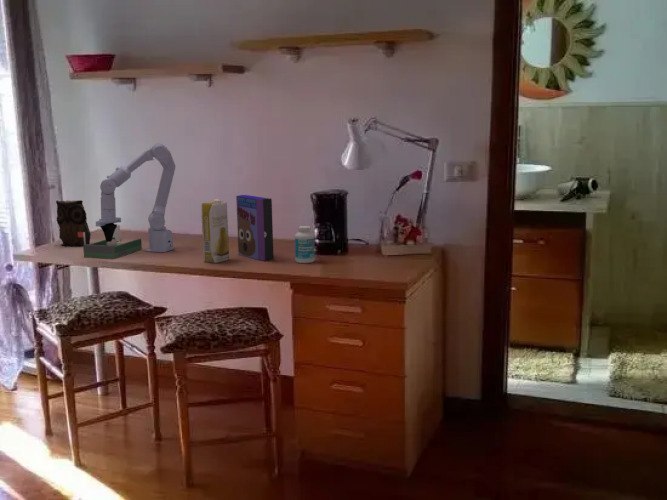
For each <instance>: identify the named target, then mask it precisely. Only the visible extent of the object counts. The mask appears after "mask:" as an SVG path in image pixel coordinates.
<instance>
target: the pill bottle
mask: <svg viewBox="0 0 667 500" xmlns="http://www.w3.org/2000/svg"><path fill="white" fill-rule="evenodd" d="M311 230H312V228H311V226H309V225H300V226H298V232H296V233H295V235H294V257H295V258H294V261H295V262H296V263H299V264H309V263H310V264H311V263H314V262H315V258H316V255H315V251H316V250H315V234H314V233H313V232H312V231H311Z"/></svg>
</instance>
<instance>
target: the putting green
mask: <svg viewBox="0 0 667 500" xmlns="http://www.w3.org/2000/svg"><path fill="white" fill-rule="evenodd" d="M78 237H84V245H83V246H82V247H83V257H84V258H91V259H92V258H93V259H94V258H95V259H96V258H97V259H109V258H111V259H110V260H114V258H115V259H118V258H121V257H123V255H124V256H126V255H129V254H132V253H135V252H139V251H142V250H143V247H142V246H143V243H142V238H137V239H133V240H131V241H127V242H124V243H117V246H107V242H106V239H102V240H99V241H95V242H92V243H90V244H89V245H87V244H86V241H85V232H78ZM112 239H114V240H115V237H113V238H112ZM120 256H121V257H120ZM117 257H118V258H117Z"/></svg>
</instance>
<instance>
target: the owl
mask: <svg viewBox="0 0 667 500" xmlns="http://www.w3.org/2000/svg"><path fill="white" fill-rule="evenodd" d="M55 204H56V215H57V216H56V222H57V224H58V227H59V229H58V232H59V239H60V240H61V242H62V244H61V246H62V247H72V248H73V247H76V248H78V247H80V248H81V247H83V245H84V237H78V232H85V241H86V244H87V245H89V244H91V236H92V235H91V231H90V228H89V225H88V221H87V219H88V218H87V212H86V210H85V207H84V205H83V200H82V199H81V200H56V201H55Z"/></svg>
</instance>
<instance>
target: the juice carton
mask: <svg viewBox="0 0 667 500" xmlns="http://www.w3.org/2000/svg"><path fill="white" fill-rule="evenodd" d="M200 206H201V207H200V213H201V215H200V216H201V230H202V231H201V233H202V249H203V250H202V251H203V260H204V261H203V262H205V263H207V262H208V263H212V264H213V263H214V264H218V263H221V262H225V261H228V260H230V247H229V246H230V245H229V223H228V222H229V220H228V219H229V218H228V203H227V201H221V200H220V199H217V198H216V199H213V201H210V202H202V203H201V204H200Z"/></svg>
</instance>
